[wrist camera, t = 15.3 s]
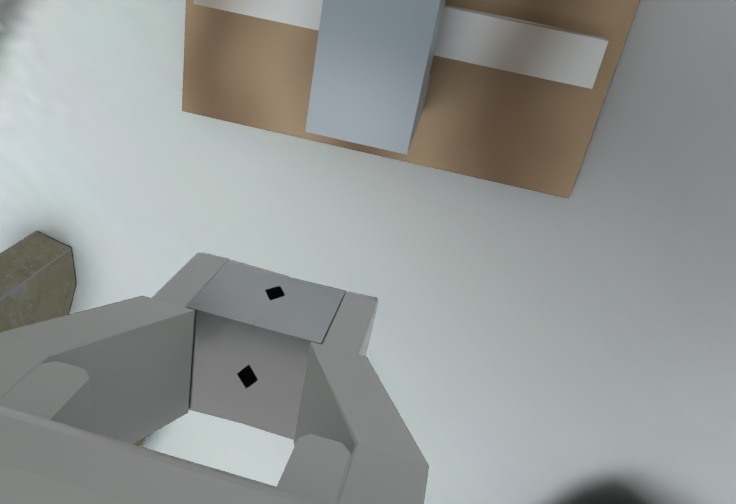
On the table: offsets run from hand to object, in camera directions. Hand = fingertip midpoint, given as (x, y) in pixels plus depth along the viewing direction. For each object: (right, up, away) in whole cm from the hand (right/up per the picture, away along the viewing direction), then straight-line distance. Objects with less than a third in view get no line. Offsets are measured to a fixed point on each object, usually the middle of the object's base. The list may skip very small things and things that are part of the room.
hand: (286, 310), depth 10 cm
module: (+3, +11, +18) cm, 21 cm away
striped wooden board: (+3, +12, +19) cm, 22 cm away
